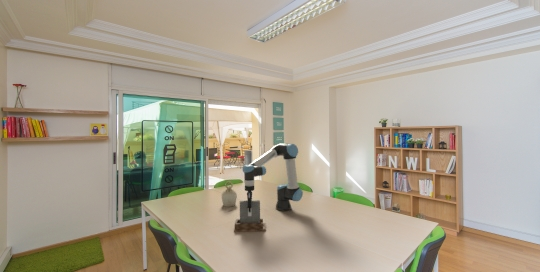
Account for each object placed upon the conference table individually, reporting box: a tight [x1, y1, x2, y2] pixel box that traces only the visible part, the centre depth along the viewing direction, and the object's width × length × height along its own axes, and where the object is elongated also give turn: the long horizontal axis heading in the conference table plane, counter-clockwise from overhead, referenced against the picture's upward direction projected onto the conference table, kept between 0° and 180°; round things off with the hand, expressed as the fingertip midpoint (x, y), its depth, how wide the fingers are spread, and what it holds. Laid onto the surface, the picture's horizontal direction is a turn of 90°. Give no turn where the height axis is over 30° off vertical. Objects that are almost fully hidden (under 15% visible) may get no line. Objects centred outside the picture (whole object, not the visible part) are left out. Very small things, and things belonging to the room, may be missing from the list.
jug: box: [221, 180, 238, 208], centre depth 241 cm, size 15×16×25 cm
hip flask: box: [239, 198, 261, 223], centre depth 182 cm, size 16×4×20 cm, turn 93°
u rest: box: [233, 218, 267, 233], centre depth 182 cm, size 24×12×6 cm, turn 92°
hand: (249, 214), depth 182 cm, fingers closed on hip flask, 4 cm apart
